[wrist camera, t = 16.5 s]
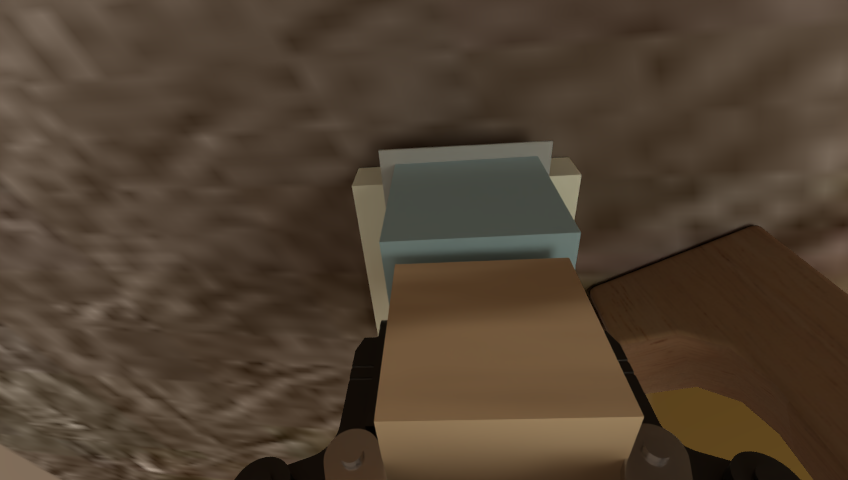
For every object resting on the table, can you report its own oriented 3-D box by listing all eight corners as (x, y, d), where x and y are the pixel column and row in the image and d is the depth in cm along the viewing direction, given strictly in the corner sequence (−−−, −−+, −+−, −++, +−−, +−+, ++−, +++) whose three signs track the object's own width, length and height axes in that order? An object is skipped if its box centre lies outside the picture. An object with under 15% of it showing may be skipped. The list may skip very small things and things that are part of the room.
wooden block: (608, 335, 26) (857, 852, 11) (585, 287, 24) (854, 844, 9) (767, 280, 23) (1400, 862, 8) (757, 220, 21) (1586, 853, 6)
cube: (395, 164, 17) (379, 242, 12) (537, 156, 17) (580, 232, 12) (407, 275, 21) (399, 372, 16) (528, 270, 20) (558, 367, 15)
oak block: (395, 264, 12) (373, 421, 8) (568, 257, 12) (644, 416, 8) (409, 376, 15) (399, 537, 10) (550, 372, 14) (597, 537, 10)
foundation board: (353, 135, 19) (345, 152, 17) (573, 123, 18) (587, 139, 17) (385, 330, 26) (381, 356, 24) (545, 325, 25) (554, 352, 24)
